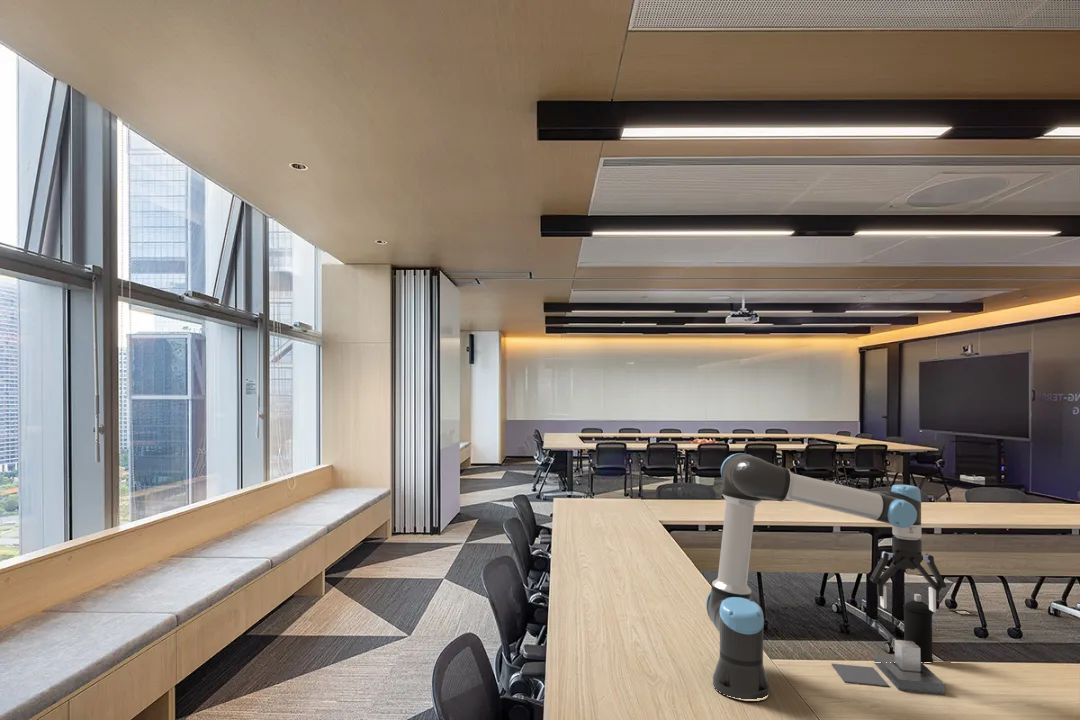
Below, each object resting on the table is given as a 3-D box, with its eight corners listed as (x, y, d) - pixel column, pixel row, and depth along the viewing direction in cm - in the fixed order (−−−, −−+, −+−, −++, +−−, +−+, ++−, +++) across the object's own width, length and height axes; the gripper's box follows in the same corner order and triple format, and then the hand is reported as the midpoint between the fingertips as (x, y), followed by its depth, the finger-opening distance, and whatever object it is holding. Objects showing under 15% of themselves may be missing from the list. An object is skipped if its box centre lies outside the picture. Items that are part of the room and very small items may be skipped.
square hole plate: (898, 690, 171) (898, 679, 171) (874, 663, 189) (874, 653, 189) (944, 694, 169) (944, 683, 170) (915, 666, 187) (915, 657, 187)
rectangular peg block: (902, 681, 177) (902, 646, 178) (894, 673, 182) (894, 639, 183) (920, 682, 176) (920, 648, 177) (912, 675, 181) (912, 641, 182)
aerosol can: (919, 664, 189) (918, 599, 190) (897, 653, 197) (896, 591, 198) (939, 662, 191) (939, 598, 192) (917, 651, 199) (916, 590, 200)
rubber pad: (844, 682, 175) (844, 681, 175) (831, 664, 187) (831, 663, 187) (889, 687, 173) (889, 685, 173) (872, 668, 185) (872, 667, 185)
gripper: (867, 537, 180) (868, 609, 179) (958, 542, 176) (960, 616, 175) (858, 532, 187) (858, 601, 186) (945, 536, 183) (946, 607, 182)
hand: (907, 609), depth 180 cm, fingers open, 13 cm apart
